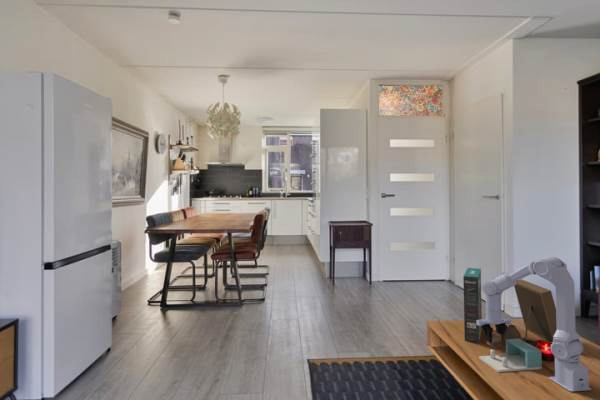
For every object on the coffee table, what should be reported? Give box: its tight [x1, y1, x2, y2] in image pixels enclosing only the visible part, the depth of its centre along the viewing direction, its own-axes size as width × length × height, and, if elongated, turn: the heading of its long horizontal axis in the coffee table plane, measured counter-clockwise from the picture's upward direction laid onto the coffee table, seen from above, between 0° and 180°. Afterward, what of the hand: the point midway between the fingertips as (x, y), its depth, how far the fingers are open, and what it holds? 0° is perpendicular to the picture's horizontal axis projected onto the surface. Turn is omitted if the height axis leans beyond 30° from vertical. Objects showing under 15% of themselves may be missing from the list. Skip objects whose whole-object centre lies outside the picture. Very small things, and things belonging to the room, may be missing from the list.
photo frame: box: [513, 278, 557, 343], centre depth 168 cm, size 15×22×25 cm
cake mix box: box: [463, 267, 483, 344], centre depth 174 cm, size 22×6×30 cm, turn 150°
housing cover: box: [505, 338, 543, 367], centre depth 143 cm, size 12×6×6 cm, turn 7°
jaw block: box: [486, 331, 503, 348], centre depth 151 cm, size 4×4×5 cm
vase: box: [503, 324, 522, 343], centre depth 160 cm, size 7×7×9 cm
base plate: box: [478, 348, 543, 373], centre depth 143 cm, size 12×18×4 cm, turn 97°
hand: (494, 341), depth 151 cm, fingers closed on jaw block, 4 cm apart
